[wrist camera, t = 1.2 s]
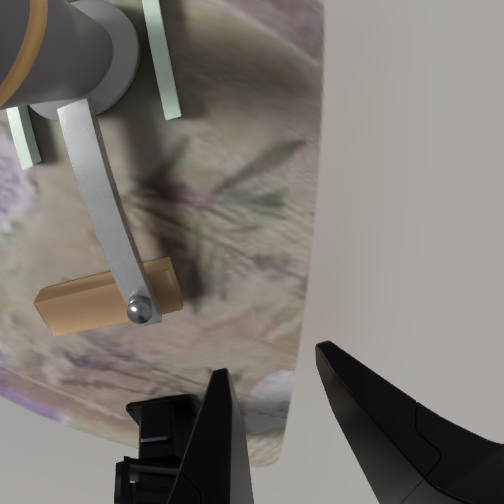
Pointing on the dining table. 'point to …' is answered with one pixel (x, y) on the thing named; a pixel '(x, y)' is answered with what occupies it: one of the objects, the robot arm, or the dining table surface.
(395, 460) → the robot arm
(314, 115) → the dining table surface
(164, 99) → the pale green u-shaped bracket
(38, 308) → the latch rail
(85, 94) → the plug
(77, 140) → the lever
